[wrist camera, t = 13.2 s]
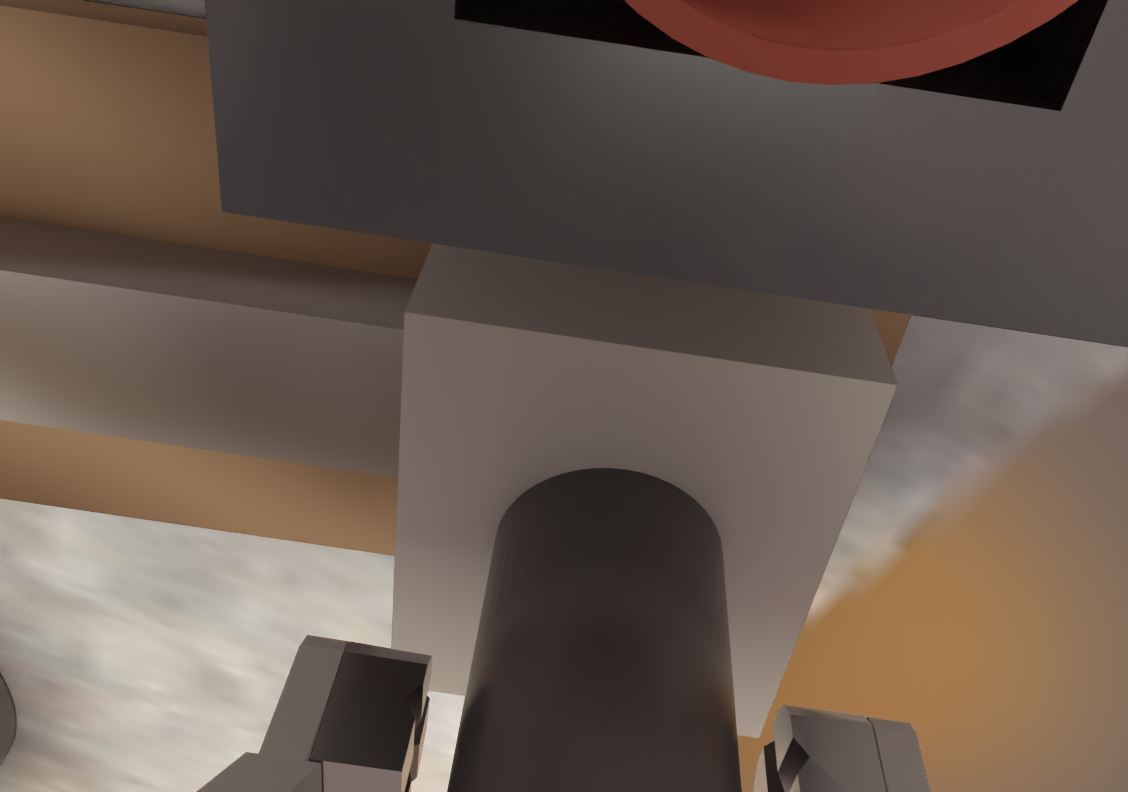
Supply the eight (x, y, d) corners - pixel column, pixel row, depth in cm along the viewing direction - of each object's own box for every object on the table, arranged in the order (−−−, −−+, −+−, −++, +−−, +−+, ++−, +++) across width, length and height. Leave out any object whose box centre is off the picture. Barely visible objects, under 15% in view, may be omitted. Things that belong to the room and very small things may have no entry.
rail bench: (-408, -75, 15) (-565, -40, 13) (959, 133, 15) (1004, 197, 13) (-198, 440, 21) (-286, 518, 19) (792, 585, 21) (805, 676, 19)
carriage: (440, 225, 14) (230, 740, 7) (864, 289, 14) (1063, 858, 7) (419, 576, 18) (273, 1120, 11) (747, 624, 18) (803, 1193, 11)
